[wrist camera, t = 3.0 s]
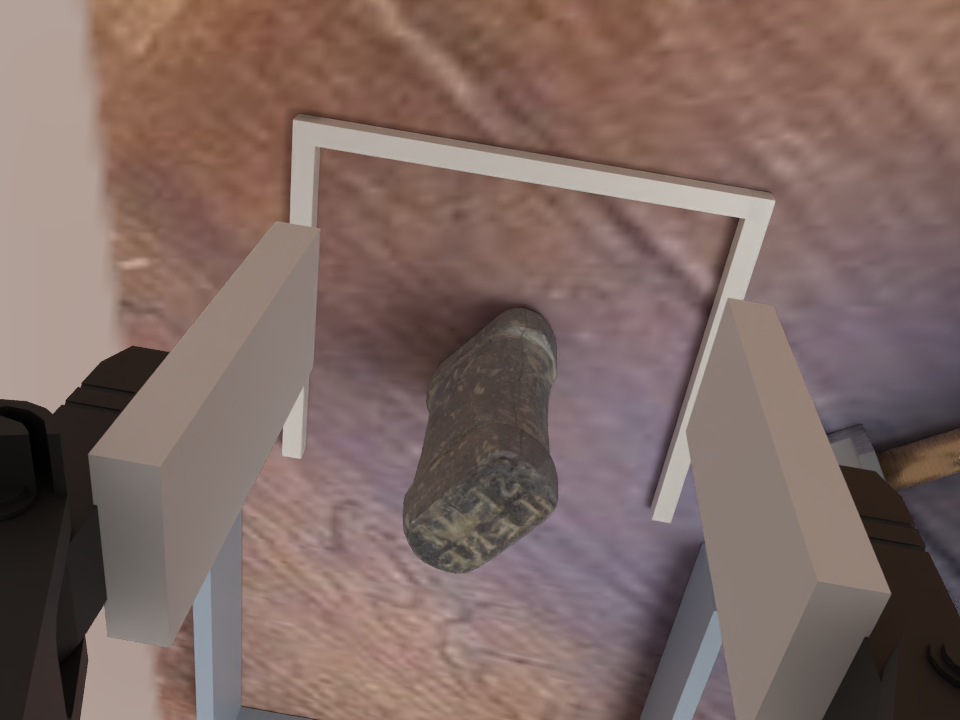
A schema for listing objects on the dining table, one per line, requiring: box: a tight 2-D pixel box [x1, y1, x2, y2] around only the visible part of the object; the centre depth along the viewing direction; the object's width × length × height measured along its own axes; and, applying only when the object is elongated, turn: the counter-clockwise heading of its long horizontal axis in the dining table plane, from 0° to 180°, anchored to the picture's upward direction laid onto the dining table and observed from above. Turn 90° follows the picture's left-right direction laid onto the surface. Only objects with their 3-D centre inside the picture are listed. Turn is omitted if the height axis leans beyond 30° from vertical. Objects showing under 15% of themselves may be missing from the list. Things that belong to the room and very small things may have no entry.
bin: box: [193, 508, 722, 720], centre depth 42 cm, size 17×22×4 cm
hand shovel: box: [827, 424, 960, 491], centre depth 35 cm, size 11×4×2 cm, turn 117°
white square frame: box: [282, 113, 776, 523], centre depth 34 cm, size 14×17×1 cm
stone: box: [403, 308, 558, 574], centre depth 31 cm, size 3×6×10 cm, turn 134°
